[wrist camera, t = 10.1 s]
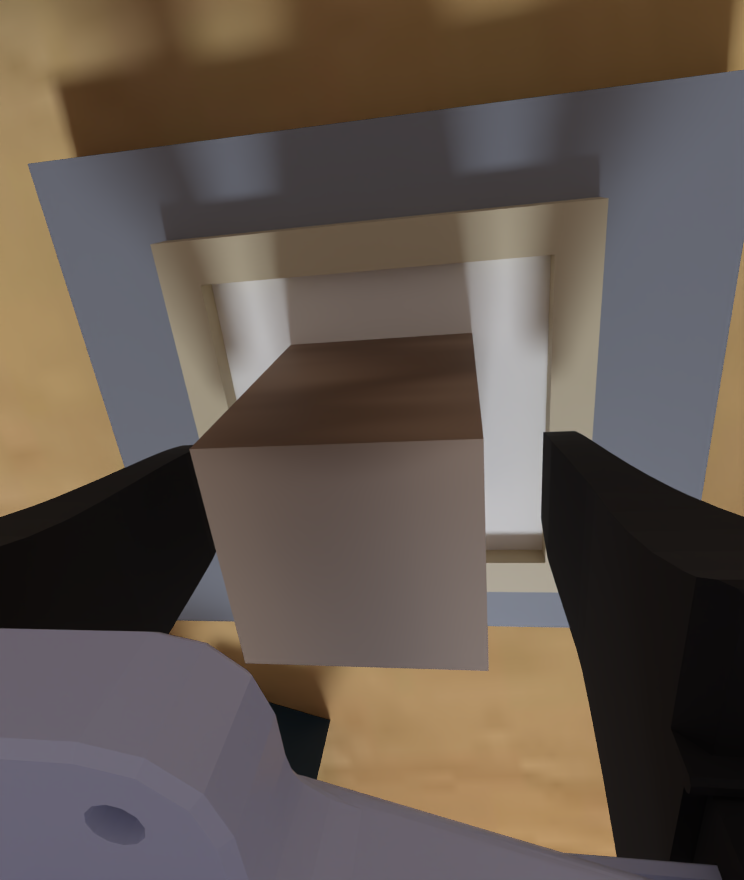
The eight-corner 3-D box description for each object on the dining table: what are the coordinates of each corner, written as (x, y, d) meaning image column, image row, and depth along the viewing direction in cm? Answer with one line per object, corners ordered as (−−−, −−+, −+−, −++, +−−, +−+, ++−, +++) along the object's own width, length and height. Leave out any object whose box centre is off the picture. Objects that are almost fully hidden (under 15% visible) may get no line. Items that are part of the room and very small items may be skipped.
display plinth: (726, 81, 12) (795, 58, 10) (657, 584, 18) (690, 650, 16) (78, 165, 15) (3, 163, 13) (198, 581, 21) (162, 637, 18)
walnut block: (472, 333, 13) (483, 438, 8) (476, 495, 15) (488, 670, 10) (290, 344, 14) (189, 448, 9) (316, 498, 16) (245, 663, 11)
